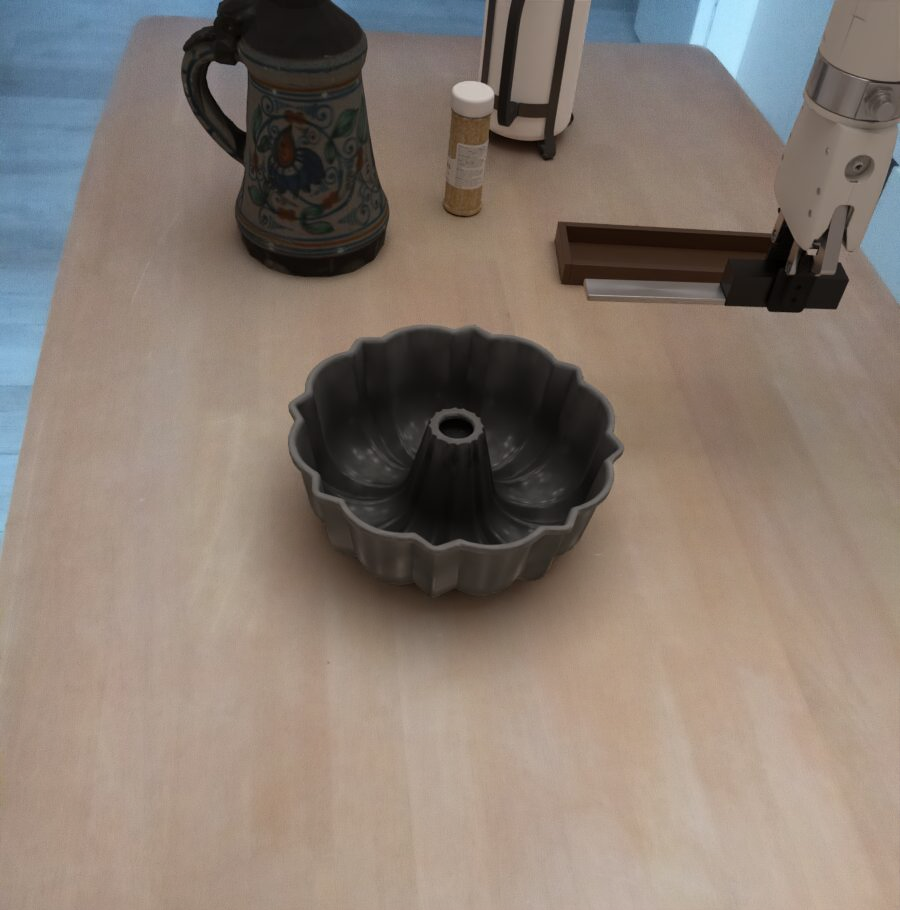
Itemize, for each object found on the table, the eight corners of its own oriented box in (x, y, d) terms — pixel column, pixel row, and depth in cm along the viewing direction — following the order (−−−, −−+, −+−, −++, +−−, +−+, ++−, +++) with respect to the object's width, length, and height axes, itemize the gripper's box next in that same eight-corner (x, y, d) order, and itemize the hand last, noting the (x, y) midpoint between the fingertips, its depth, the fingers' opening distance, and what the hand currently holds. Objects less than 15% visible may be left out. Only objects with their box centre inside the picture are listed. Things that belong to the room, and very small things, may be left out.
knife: (828, 291, 90) (840, 262, 88) (836, 309, 88) (849, 279, 86) (583, 283, 88) (589, 252, 86) (587, 301, 86) (593, 271, 84)
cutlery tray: (792, 254, 117) (800, 234, 115) (809, 296, 112) (818, 277, 110) (554, 241, 115) (557, 221, 113) (561, 284, 110) (565, 263, 108)
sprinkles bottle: (444, 194, 119) (453, 76, 108) (483, 198, 119) (496, 81, 108) (441, 215, 116) (450, 97, 105) (480, 220, 116) (493, 102, 106)
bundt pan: (269, 426, 92) (261, 336, 85) (542, 393, 98) (559, 305, 90) (324, 661, 77) (321, 577, 69) (644, 604, 83) (675, 521, 75)
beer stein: (412, 262, 110) (426, 15, 90) (238, 298, 104) (212, 41, 84) (354, 184, 119) (355, -57, 99) (191, 213, 112) (157, -38, 93)
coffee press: (436, 111, 131) (455, -171, 107) (547, 97, 136) (588, -177, 112) (491, 181, 121) (525, -112, 98) (608, 163, 126) (667, -121, 103)
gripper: (948, 143, 70) (847, 359, 84) (875, 37, 80) (796, 246, 94) (843, 138, 69) (758, 356, 83) (783, 32, 79) (717, 243, 93)
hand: (779, 296), depth 89 cm, fingers closed on knife, 2 cm apart
